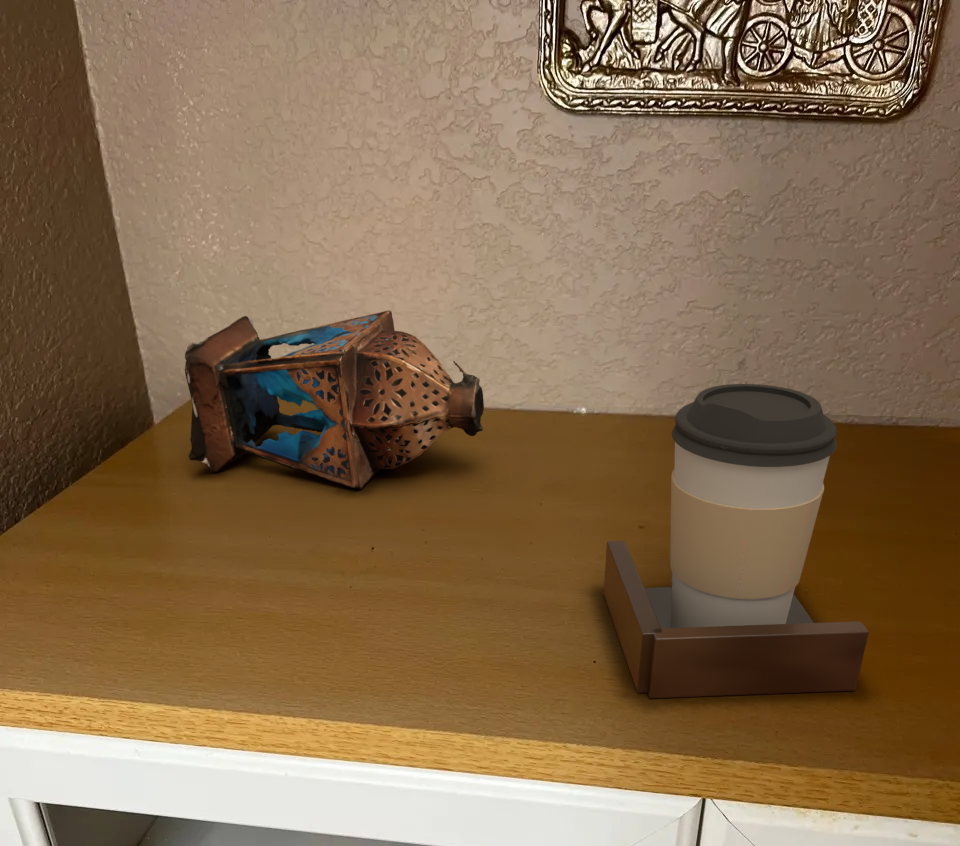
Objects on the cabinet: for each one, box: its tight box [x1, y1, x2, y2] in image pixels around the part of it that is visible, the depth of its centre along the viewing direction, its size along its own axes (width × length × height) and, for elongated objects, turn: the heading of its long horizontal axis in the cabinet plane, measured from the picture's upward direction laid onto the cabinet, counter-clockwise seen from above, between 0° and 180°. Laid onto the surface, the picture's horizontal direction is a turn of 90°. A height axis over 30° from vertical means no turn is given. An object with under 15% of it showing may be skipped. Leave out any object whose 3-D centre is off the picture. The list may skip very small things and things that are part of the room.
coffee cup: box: [669, 383, 838, 628], centre depth 58 cm, size 9×9×15 cm
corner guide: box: [603, 540, 870, 699], centre depth 60 cm, size 13×13×4 cm
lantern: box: [184, 310, 485, 490], centre depth 85 cm, size 16×16×25 cm
